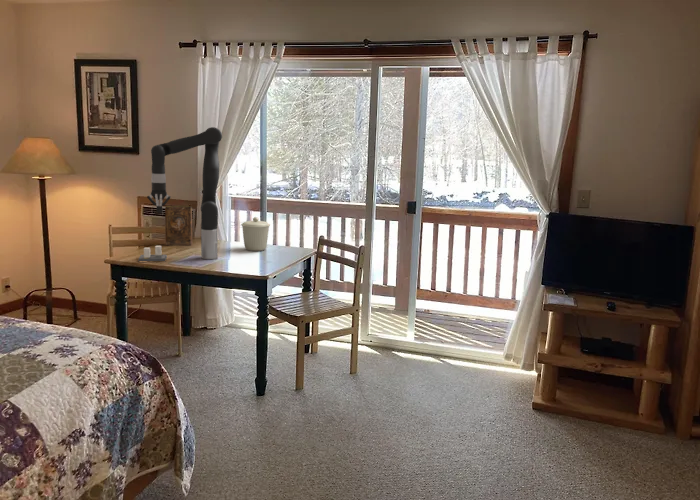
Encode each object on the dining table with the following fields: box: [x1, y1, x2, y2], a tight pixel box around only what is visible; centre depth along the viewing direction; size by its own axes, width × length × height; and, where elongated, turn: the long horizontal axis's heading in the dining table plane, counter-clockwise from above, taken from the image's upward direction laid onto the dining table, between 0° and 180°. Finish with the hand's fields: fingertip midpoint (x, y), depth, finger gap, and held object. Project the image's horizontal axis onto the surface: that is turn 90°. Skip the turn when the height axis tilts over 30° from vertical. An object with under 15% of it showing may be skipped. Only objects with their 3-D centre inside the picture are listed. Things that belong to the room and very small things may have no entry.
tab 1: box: [143, 247, 151, 258], centre depth 313 cm, size 3×4×5 cm
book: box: [164, 205, 193, 247], centre depth 360 cm, size 16×6×25 cm, turn 105°
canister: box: [240, 216, 271, 252], centre depth 356 cm, size 18×18×21 cm
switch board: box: [138, 254, 168, 262], centre depth 317 cm, size 14×10×2 cm
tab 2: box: [154, 245, 163, 256], centre depth 319 cm, size 3×4×5 cm
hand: (159, 212), depth 314 cm, fingers closed
